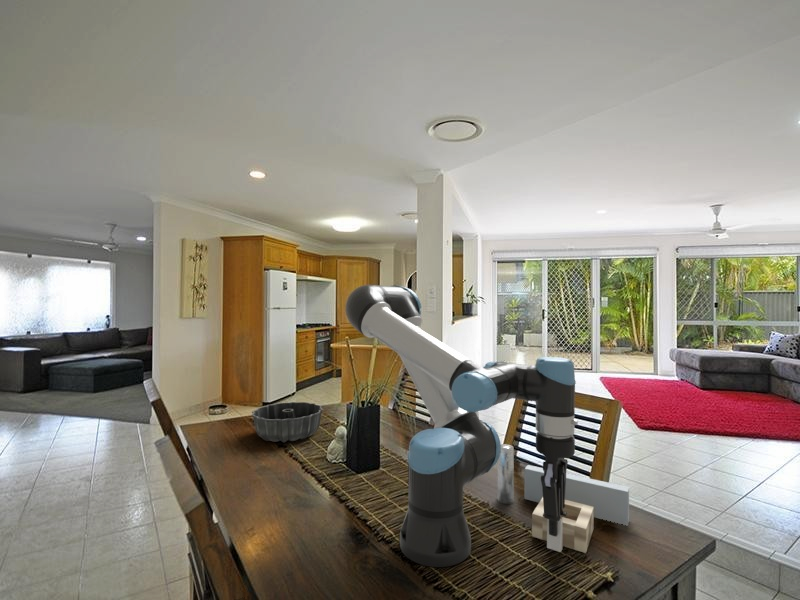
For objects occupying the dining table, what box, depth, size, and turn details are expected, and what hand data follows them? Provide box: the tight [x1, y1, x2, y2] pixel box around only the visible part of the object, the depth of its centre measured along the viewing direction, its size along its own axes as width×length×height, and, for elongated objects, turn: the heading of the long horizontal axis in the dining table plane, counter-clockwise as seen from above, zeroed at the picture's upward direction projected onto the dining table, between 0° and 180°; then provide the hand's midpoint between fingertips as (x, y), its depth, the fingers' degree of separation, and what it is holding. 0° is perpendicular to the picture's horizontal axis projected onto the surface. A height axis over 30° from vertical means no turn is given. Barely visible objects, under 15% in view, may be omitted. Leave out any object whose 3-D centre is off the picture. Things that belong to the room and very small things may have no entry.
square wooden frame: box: [531, 497, 595, 554], centre depth 93 cm, size 11×11×5 cm
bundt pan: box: [251, 401, 324, 443], centre depth 159 cm, size 26×26×10 cm
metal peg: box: [497, 443, 515, 505], centre depth 108 cm, size 4×4×14 cm
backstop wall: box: [524, 464, 630, 527], centre depth 104 cm, size 3×24×8 cm, turn 57°
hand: (554, 548), depth 85 cm, fingers closed
